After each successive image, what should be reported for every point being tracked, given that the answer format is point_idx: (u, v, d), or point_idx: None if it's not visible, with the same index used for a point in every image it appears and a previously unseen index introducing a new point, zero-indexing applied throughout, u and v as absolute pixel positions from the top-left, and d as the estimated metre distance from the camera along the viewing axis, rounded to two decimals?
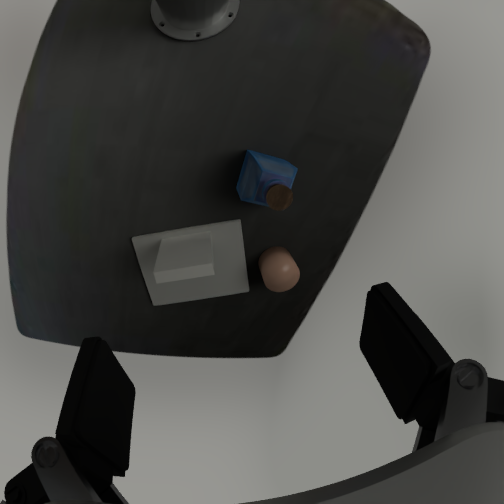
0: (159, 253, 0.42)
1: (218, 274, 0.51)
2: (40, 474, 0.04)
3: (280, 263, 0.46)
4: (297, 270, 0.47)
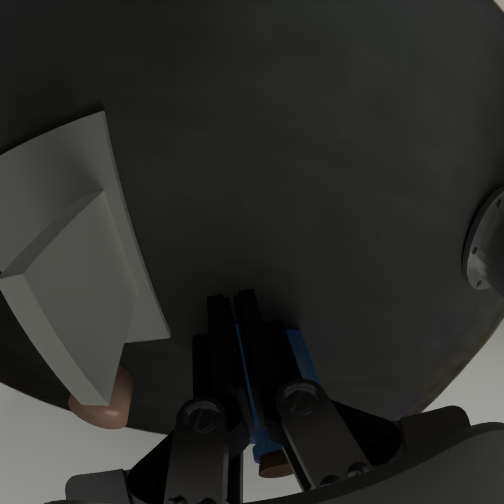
0: (75, 223, 0.13)
1: None
2: (177, 430, 0.06)
3: (119, 415, 0.21)
4: (115, 427, 0.23)
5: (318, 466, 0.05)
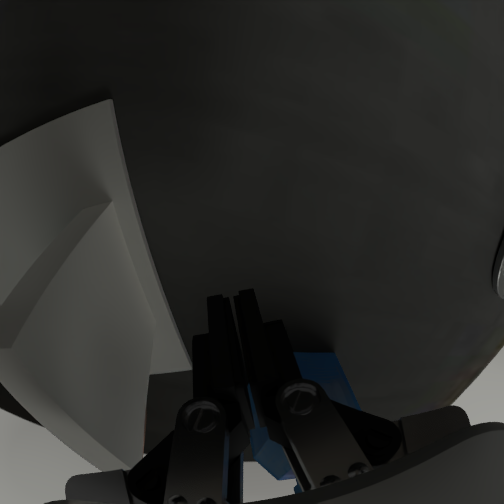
0: (78, 251, 0.09)
1: None
2: (177, 430, 0.06)
3: None
4: None
5: (318, 466, 0.05)
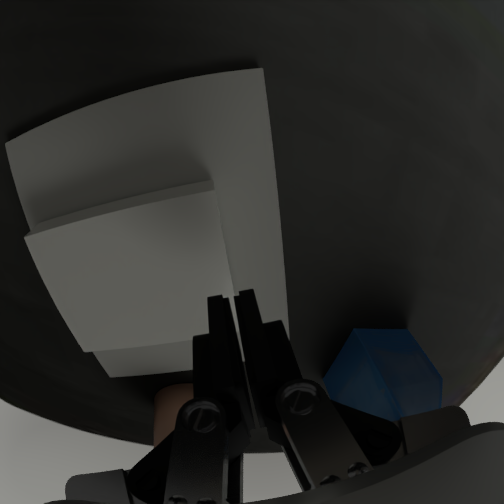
0: (107, 218, 0.12)
1: None
2: (177, 430, 0.06)
3: None
4: None
5: (318, 466, 0.05)
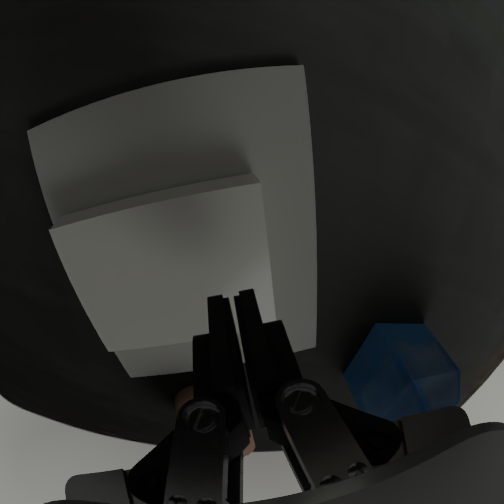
0: (146, 210, 0.12)
1: None
2: (177, 430, 0.06)
3: (249, 448, 0.19)
4: None
5: (318, 466, 0.05)
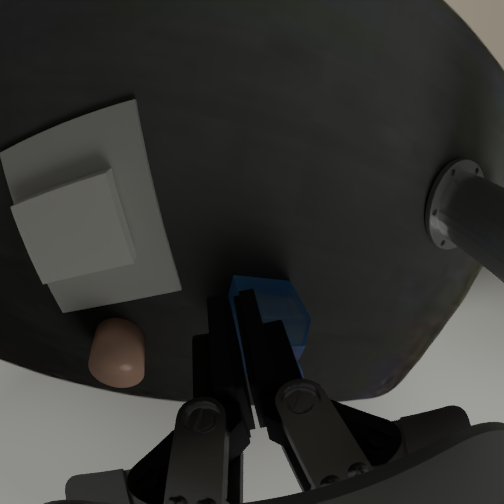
0: (54, 192, 0.19)
1: None
2: (177, 430, 0.06)
3: (140, 371, 0.26)
4: (125, 385, 0.27)
5: (318, 466, 0.05)
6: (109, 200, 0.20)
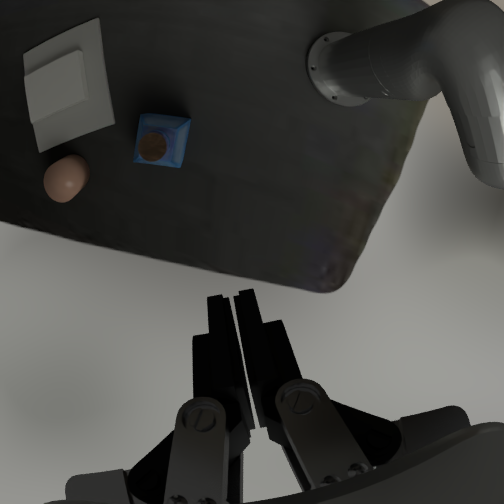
0: (50, 64, 0.27)
1: (55, 113, 0.32)
2: (177, 430, 0.06)
3: (75, 184, 0.34)
4: (63, 200, 0.35)
5: (318, 466, 0.05)
6: (77, 63, 0.28)
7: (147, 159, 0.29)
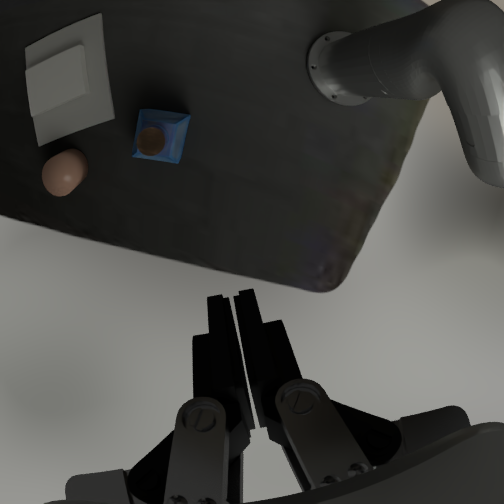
0: (51, 58, 0.27)
1: (55, 107, 0.32)
2: (177, 430, 0.06)
3: (73, 180, 0.34)
4: (59, 194, 0.35)
5: (318, 466, 0.05)
6: (78, 58, 0.28)
7: (145, 153, 0.28)
